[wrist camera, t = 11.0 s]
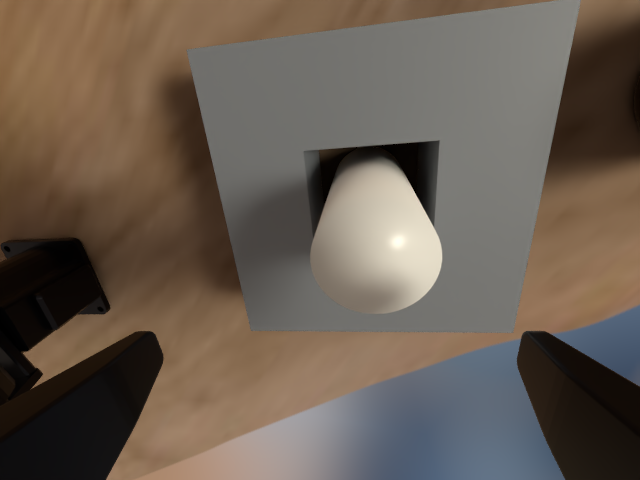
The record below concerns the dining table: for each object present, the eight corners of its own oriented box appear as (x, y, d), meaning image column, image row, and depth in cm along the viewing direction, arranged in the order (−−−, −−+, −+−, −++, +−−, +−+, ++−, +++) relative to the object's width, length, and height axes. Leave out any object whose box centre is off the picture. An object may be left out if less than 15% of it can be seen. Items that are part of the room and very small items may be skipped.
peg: (337, 214, 20) (316, 313, 11) (332, 149, 18) (303, 202, 9) (402, 211, 19) (437, 314, 10) (403, 143, 18) (446, 195, 9)
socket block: (272, 283, 23) (251, 330, 18) (233, 62, 17) (186, 49, 12) (479, 280, 20) (512, 332, 16) (514, 27, 15) (581, -3, 10)
